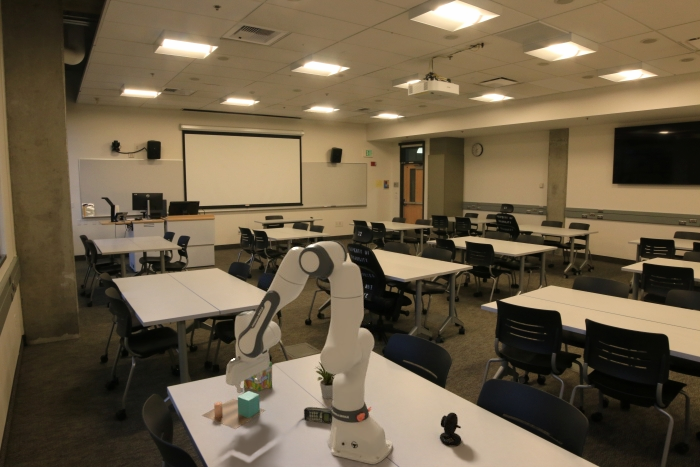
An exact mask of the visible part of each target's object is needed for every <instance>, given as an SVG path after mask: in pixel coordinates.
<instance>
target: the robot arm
mask: <svg viewBox="0 0 700 467" xmlns="http://www.w3.org/2000/svg"><path fill="white" fill-rule="evenodd" d="M347 259H348V249H347V247H346V246H345V244H343V243H342V242H340V241H338V240H333V239H332V240H331V239H330V240H327V241H318V242H314V243H312V244H309V245H307V246H306V247H301V246H294V247H291V248H290V249H289V250H288V251H287V253H286V254H285V256H284V257H283V259H282V261H281V263H280V265H278V266H279V267H278V269H277V271H276V273H275V276H274V277H273V280H272V282H271V284H270V286H269V288H268V290H267V291H266V293H265V295H264V296H263V298H262V300H261V301H260V303H259V305H258V307H257V308H256V310H247V311H242V312H240V313H238V314H237V315H236V316H235V321H234V337H235V339H236V340H235V341H236V342H235V358H233V359H231V360H229V362H228V363H227V365H226V371H225V383H226V384H227V385H229V386H233V387H235V388H236V393H238V394H241V393H243V392H244V386H241V385H242V382H244V380H246V379H248V378H250V377H252V376H254V375H256V374H257V376H256V378H255V383H257V384H258V383H260V382H261V380H260V378H261V376H262V371H263V370H265V369H267V368H268V367H269V364H270V362H271V361H270V353H269V350H270V349H271V348H272V347H273V346H275V345H277V344H278V343H279V342H280V341H281V338H282V329H281V327H280V325H279V324H278V323H277V322H276V321H273V319H274V317H275V316H276V314H277V313H278V312H279V311H280V310H281V309H283V308H284V307H285V306H287V305H288V304H289V303H291V302H293V301H295V299H297V298H298V297H299V296H300V294H301V293H302V292H303V290H304V288H305V286H306V283H307V281H308V279H309V276H311V277H315V278H318V279H320V280H323V281H324V280H326V279H328V281H329V286H330V323H329V328H328V334H327V336H326V340H325V344H324V346H323V348H322V349H321V352H320V356H319V360H320V363H321V364H322V366H323V368H324V369H325V370H326V371H327V372H329V373H331V374H336V375H335V377H334V380H333V398H332V402H331V408H330V409H331V414H332V423H331V427H330V433H329V436H328V441H327V443H328V446H329V447H330V449H331V455H332V456H335V457H339V458H344V459H349V460H352V461H356V462H361V463H365V464H369V465H370V464H371V465H376V464H378V463H380V462H382V461H383V460H384V459H386V458H387V457H388V456H389V454H390V453H391V452H392V449H393V442H392V441H391V440H389V439H387V437H386V433H385V429H384V428H383V426H382V425H380V424H379V423H378V422H377V420H376V419H374V417H372V416H371V415H370V412H371V410H372V409H371V408H372V406H369V407H367V404H366V402H365V387H366V386H365V385H366V377H367V372H368V367H369V363H370V358H371V354H372V351H373V350H374V347H375V338H374V335H373V334H372V332H370V330H369V329H367V328H364V327H361V325H362V321H363V320H364V317H365V316H364V315H365V313H364V312H365V310H364V309H365V308H364V306H365V305H364V286H363V279H362V273H361V272H362V271H361V268H360V266H359V265H357V264H356V263H354V262H352V261H347ZM326 371H325V372H326Z"/></svg>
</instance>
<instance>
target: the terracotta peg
mask: <svg viewBox="0 0 700 467" xmlns="http://www.w3.org/2000/svg"><path fill="white" fill-rule="evenodd" d="M222 404H223V402H221V401H216V402H214V404H213V407H214V408H213V409H214V414H215V418H221V417H222V416H223V408H222Z"/></svg>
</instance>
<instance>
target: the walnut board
mask: <svg viewBox="0 0 700 467" xmlns="http://www.w3.org/2000/svg"><path fill="white" fill-rule="evenodd" d="M222 408H223V416H222V417H221V418H215V414H214V408H213V409H211V410H209V411H208V412H205V413H204V414H202V415H201V416H202V417H205V418H207V419H210V420H212V421H214V422H217V423H219V424H222V425H224V426H227V427H229V428H232V429H235V430H236V429H238V428H239V427H240V426H243V425H244V424H246V423H247V422H249V421H251V420H252V419H254V418H255V417H257V416H259V415H260V414H262V413H263V412H265V411H266V410H265V409H263V408H261V407H260V412H258V413H257V414H255V415H254V416H252V417H250V418H247V417H244V416H242V415H239V414H238V399H236V398H231V399H230V400H228V401H225V402H224V403H222Z"/></svg>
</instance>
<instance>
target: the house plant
mask: <svg viewBox="0 0 700 467" xmlns="http://www.w3.org/2000/svg"><path fill="white" fill-rule="evenodd" d="M318 364H319V366H315V368H314V369H315V373H317V374H319V375H320V376H318V377H317V381H318V382H319V386H320V391H321V397H322V399H325V400H331V399H332V400H333V380H334V377H335V375H336V374H331V373H329V372H327V371H326V370H325V369H324V368H323V366H322V364H321V361H318ZM316 369H318V370H316Z"/></svg>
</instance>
